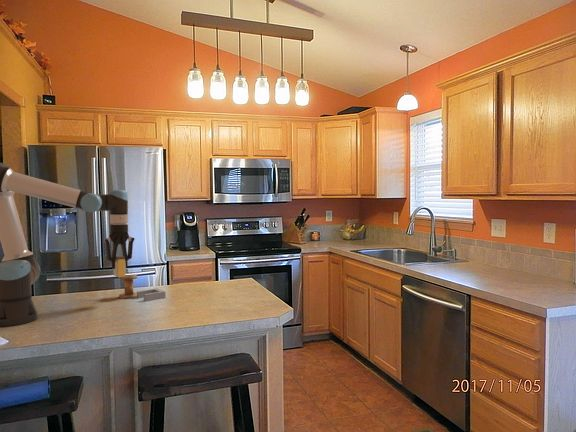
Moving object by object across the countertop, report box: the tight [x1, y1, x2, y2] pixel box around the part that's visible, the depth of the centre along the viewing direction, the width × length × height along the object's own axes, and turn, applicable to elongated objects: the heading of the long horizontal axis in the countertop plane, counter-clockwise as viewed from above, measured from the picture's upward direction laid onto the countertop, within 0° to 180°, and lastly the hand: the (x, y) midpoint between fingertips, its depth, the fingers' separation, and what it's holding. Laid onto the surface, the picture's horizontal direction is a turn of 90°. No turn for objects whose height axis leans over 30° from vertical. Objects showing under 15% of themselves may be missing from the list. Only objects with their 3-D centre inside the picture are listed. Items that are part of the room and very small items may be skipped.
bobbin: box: [118, 274, 138, 300], centre depth 203 cm, size 9×9×10 cm
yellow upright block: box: [115, 255, 125, 278], centre depth 190 cm, size 3×5×9 cm, turn 41°
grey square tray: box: [136, 287, 167, 302], centre depth 200 cm, size 10×10×3 cm
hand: (119, 275), depth 190 cm, fingers closed on yellow upright block, 3 cm apart
